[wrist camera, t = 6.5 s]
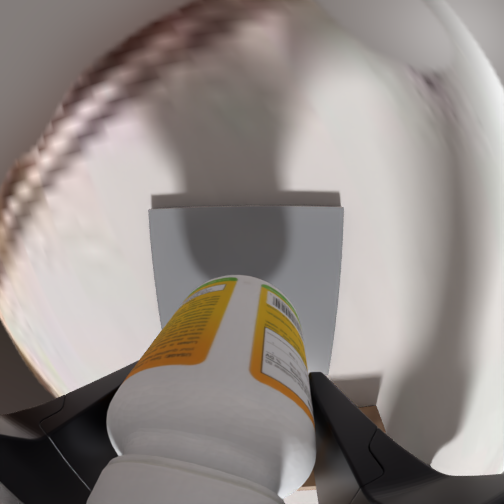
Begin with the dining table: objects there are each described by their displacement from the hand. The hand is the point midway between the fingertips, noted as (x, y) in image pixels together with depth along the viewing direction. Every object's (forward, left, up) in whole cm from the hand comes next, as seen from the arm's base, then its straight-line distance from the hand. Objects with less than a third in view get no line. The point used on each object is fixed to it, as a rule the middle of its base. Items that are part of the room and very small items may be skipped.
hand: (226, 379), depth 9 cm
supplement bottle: (0, 0, -4) cm, 4 cm away
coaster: (0, 0, -7) cm, 7 cm away
